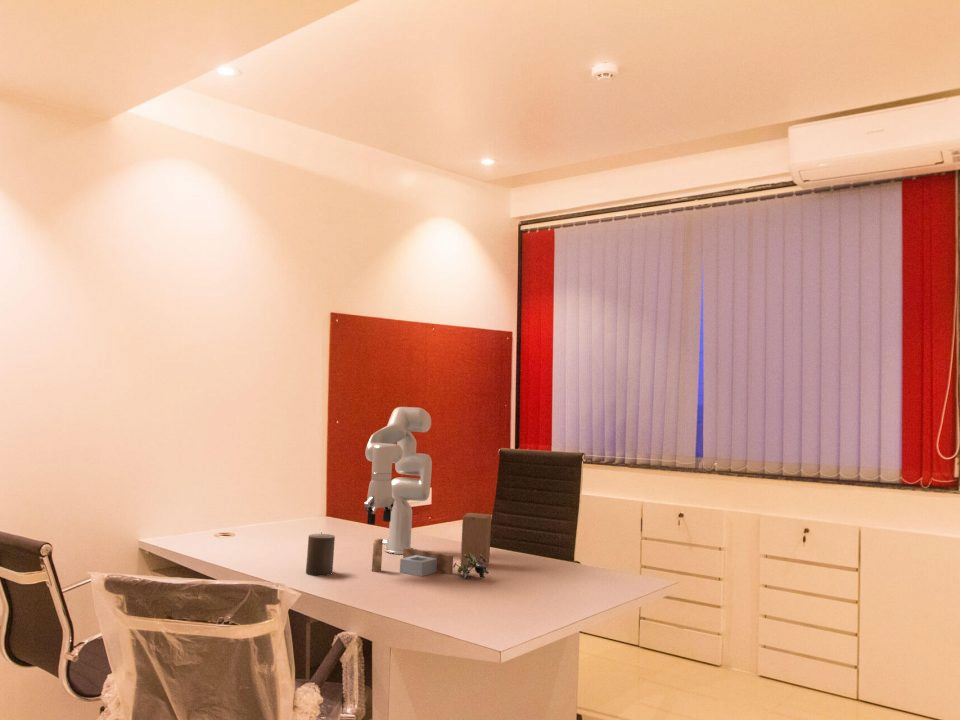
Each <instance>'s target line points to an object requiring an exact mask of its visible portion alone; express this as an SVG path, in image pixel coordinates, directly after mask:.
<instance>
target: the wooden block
mask: <svg viewBox="0 0 960 720" xmlns="http://www.w3.org/2000/svg"><path fill="white" fill-rule="evenodd" d="M461 524H462V526H461V527H462V528H461V529H462V530H461V545H460V546H461V548H460V565H459V566H463V565H464V564H465V565H467V562H468V560H467V559H466V558H465V556H464V555H466V556H468V557H469V553H471V554H472V555H474V556H475V557H476V558H477V559H479V560H481V558H480V556H479V555H480V554H481V555H482V556H483V557H484V558H485V560H486V562H484V561H483V560H482V562H484V563H483V565H486V567H487V566H488V565H489V564H490V555H491V554H490V552H491V550H490V549H491V532H492V530H491V529H492V514H489V513H488V514H487V513H478V512H477V513H476V512H475V513H474V512H467V513H465V514H464V515H463V516H462V523H461ZM472 566H473V565H469V568H471V567H472Z"/></svg>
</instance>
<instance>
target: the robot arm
mask: <svg viewBox="0 0 960 720" xmlns="http://www.w3.org/2000/svg"><path fill="white" fill-rule="evenodd" d="M431 427H432V418H431V415H430V413H429V412H428V411H426V410H425V409H424V408H421V407H413V406H411V407H410V406H409V407H408V406H398V407H395V408H394V409H393V411H392V413H391V414H390V416H389V420H388V423H387V425H386V426H384V427H382V428H380V429H379V430H377V431H375V432H374V433H373V434H371V436H370V438H369V440H368V442H367V444H366V447H365V455H364V456H365V458H366V460H367V461H369V462H372V463H371V478H370V479H371V480H370V481H369V485H368V491H367V496H366V497H367V498H366V499H367V500H366V501H365V502H364V507H365V510H366V513H367V519H366V520H367V523H366V524H367V525H372V526H374V525H376V514H375V512H376V511H377V509H384V510H383V515H382V521H383V522H387V523H389V525H388V527H389V528H388V529H389V530H388V539H386V538H385V539H383V545H384V546H386V547H384V552H385V551H386V552H385V553H387V552H389V553H388V554H392V553H394V555H403V550H404V548H412V549H414V548H413V547H411V544H412V525H413V523H412V522H413V509H412V506H411V504H410V503H409V502H408V501H416V502H426V501H427V500H428V499H429V497H430V492H431V482H432V472H433V471H432V469H433V462H432V458H431V455H429V454H427V453H420V452H419V453H417V439H416V438H415V436H414V434H412V433H413V432H416V433H417V432H418V433H427V432H428V431H429V430H430V429H431ZM393 464H394V467H395V468H394V469H395V471H396V473H397V474H400V475H404V476H405V475H408V476H418V477H420V478H418V477H417V478H414V477H403V476H402V477H395V478H393V479H392V472H393V471H392V470H393V469H392V468H393Z"/></svg>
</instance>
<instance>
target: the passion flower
mask: <svg viewBox="0 0 960 720" xmlns="http://www.w3.org/2000/svg"><path fill="white" fill-rule="evenodd" d="M464 556H465V558H466V559H467V560H468V562H467V565H465V564H464V565H463V566H461V565H458V564H457V562H453V568H454V569H455V568H456V566H457V567H458V568H457V573H458V575H461V573H462V575H463V580H465V579H466V577H467V576H468V575H469V574H470V572H471V570H472V569H474V570H475V572H476V573H477V574H478V575H479V578H480V579H482V578H483V579H485V578H486V577H485V574H487V575H488V574H490V572H489V571H488V568H487V566H486V565H483V563H484V562H486V560H485V558H484V557H483V556H482V555H481V554H480V555H479V556H480V558H481V560H479V559H477V558H476V557H475V556H474V555H472V554H471V553H469V557H468V556H466V555H464ZM482 560H483V561H484V562H482ZM469 565H473V566H472V567H469ZM469 568H470V569H469Z"/></svg>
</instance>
